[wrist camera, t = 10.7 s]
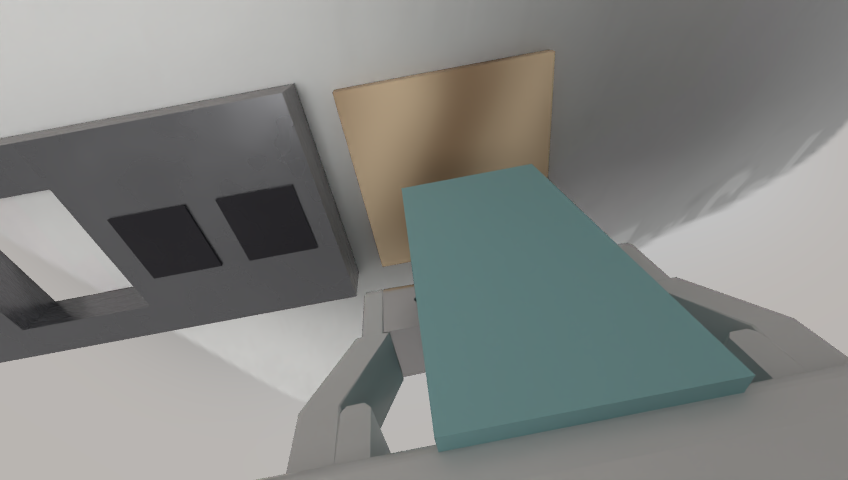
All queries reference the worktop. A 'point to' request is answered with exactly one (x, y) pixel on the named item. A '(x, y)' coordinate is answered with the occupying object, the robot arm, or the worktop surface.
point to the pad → (443, 132)
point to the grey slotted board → (180, 220)
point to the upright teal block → (543, 315)
